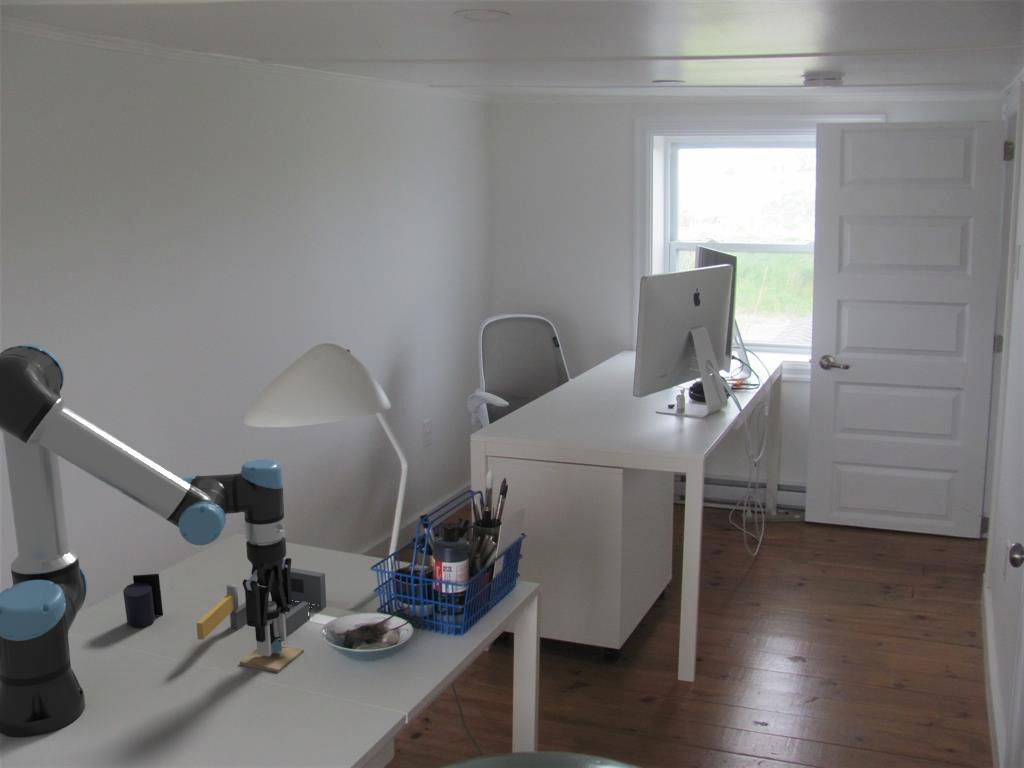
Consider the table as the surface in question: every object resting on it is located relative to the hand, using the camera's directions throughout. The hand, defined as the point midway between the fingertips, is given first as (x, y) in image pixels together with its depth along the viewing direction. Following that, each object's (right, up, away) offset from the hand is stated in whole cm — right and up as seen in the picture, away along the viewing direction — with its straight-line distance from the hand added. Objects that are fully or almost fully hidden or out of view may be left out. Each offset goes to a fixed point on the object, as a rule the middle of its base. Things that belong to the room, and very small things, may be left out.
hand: (272, 648), depth 203 cm
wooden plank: (-13, +4, +6) cm, 15 cm away
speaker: (-31, +1, +16) cm, 35 cm away
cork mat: (0, -2, 0) cm, 2 cm away
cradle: (-3, +2, +19) cm, 19 cm away
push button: (0, -1, 0) cm, 1 cm away
